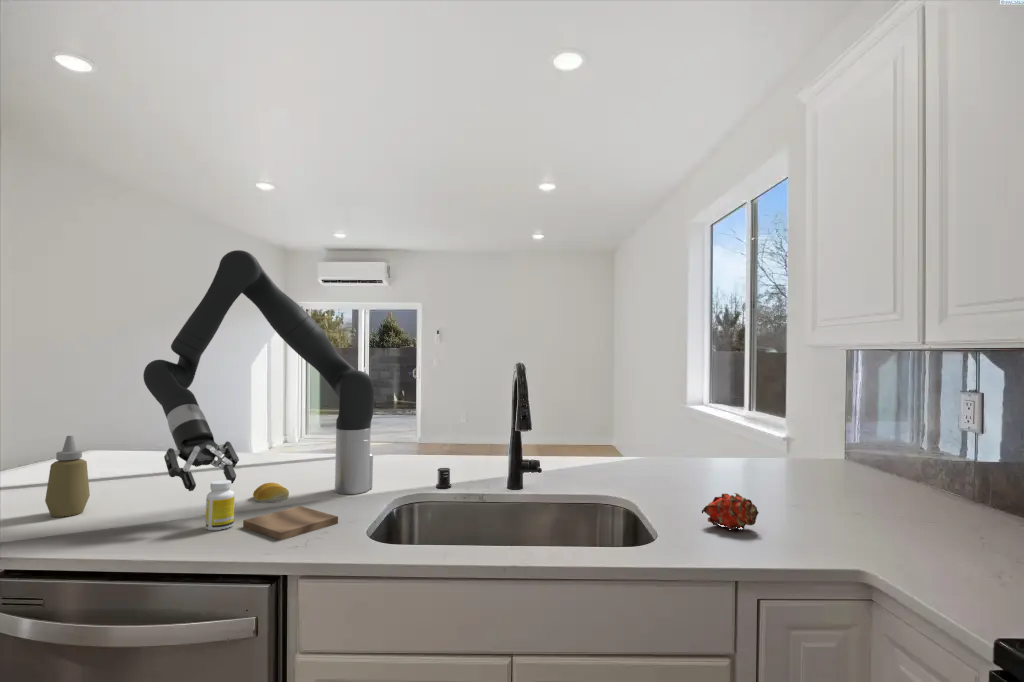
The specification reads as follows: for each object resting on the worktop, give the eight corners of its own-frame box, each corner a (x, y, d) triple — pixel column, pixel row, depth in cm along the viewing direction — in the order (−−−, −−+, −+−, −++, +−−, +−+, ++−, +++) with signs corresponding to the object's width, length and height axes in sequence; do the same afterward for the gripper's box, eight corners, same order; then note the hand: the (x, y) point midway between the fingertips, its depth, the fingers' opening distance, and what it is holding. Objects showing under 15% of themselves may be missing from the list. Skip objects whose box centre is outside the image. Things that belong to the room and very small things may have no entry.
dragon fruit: (763, 540, 120) (706, 542, 124) (755, 508, 127) (701, 511, 131) (762, 514, 116) (702, 517, 119) (754, 483, 123) (697, 487, 126)
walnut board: (300, 512, 131) (300, 506, 131) (337, 523, 123) (338, 516, 123) (243, 527, 120) (243, 520, 120) (280, 540, 112) (280, 532, 112)
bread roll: (260, 505, 137) (260, 489, 137) (249, 498, 144) (250, 483, 144) (294, 500, 142) (294, 484, 143) (282, 493, 149) (282, 478, 149)
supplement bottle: (239, 525, 121) (240, 480, 121) (219, 532, 116) (220, 485, 116) (220, 522, 123) (221, 478, 123) (199, 529, 118) (200, 483, 118)
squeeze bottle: (96, 511, 129) (99, 435, 130) (56, 521, 122) (59, 439, 122) (77, 507, 133) (79, 432, 133) (36, 516, 125) (39, 436, 126)
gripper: (161, 420, 121) (185, 480, 114) (226, 415, 133) (251, 469, 126) (150, 442, 124) (172, 502, 117) (214, 435, 135) (238, 489, 129)
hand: (213, 485), depth 121 cm, fingers open, 8 cm apart
